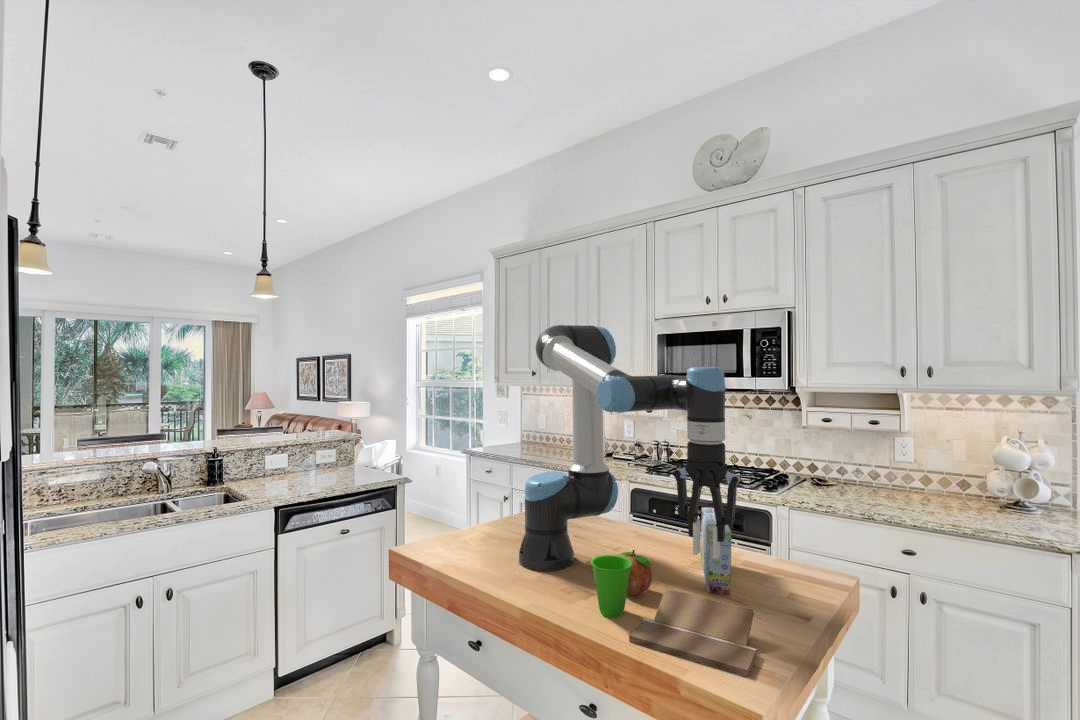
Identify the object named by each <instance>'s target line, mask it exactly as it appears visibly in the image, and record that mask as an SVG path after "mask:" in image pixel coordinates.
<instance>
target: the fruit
mask: <svg viewBox="0 0 1080 720" xmlns="http://www.w3.org/2000/svg"><path fill="white" fill-rule="evenodd" d="M620 555H621V556H623V557H626V558H628V559H630V560H631V561H632V564H633V565H632V567H631V568H630V575H629V581H628V588H627V595H630V596H640V595H643V594H644V593H646V592H647V591H648V590H649V588H650V586H651V584H652V581H653V570H652V565H653V564H652V562H651V561H650V559H649V558H647V557H645V556H643V555H640V554H636V553H635V549H632V551H624V552H622V553H620Z"/></svg>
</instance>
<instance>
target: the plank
mask: <svg viewBox="0 0 1080 720" xmlns="http://www.w3.org/2000/svg"><path fill="white" fill-rule="evenodd" d="M753 618H754V609H753V608H749V607H744V606H739V605H737V604H733V603H728V602H724V601H723V602H722V601H719V600H714V599H710V598H706V597H702V596H697V595H693V594H689V593H684V592H680V591H676V590H672V589H668V588H665V589H664V591H663V594H662V597H661V600H660V603H659V606H658V608H657V611H656V613H655V616H654V620H653V621H656V622H659V623H663V624H667V625H670V626H674V627H678V628H681V629H685V630H689V631H693V632H696V633H700V634H704V635H707V636H711V637H715V638H718V639H722V640H726V641H729V642H733V643H737V644H740V645H744V646H748V644H749V639H750V638H749V637H750V634H751V630H752V629H751V628H752V624H753Z"/></svg>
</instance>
